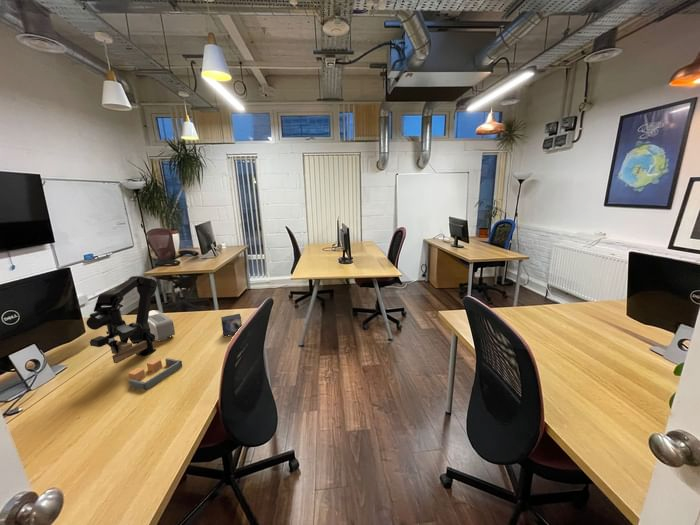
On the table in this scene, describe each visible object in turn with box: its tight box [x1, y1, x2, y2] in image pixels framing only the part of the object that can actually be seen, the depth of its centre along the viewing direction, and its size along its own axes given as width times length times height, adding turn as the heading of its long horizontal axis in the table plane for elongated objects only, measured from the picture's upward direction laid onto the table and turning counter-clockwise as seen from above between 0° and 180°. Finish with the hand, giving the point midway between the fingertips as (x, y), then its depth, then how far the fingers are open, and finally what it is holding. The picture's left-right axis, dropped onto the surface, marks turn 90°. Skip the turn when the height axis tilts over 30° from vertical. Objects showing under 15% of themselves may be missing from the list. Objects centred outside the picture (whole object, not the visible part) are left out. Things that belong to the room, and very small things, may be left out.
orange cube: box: [146, 358, 163, 373], centre depth 133 cm, size 4×4×4 cm
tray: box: [128, 357, 183, 391], centre depth 127 cm, size 9×18×3 cm, turn 162°
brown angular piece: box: [110, 340, 147, 365], centre depth 131 cm, size 11×14×5 cm
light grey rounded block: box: [148, 309, 176, 342], centre depth 168 cm, size 27×9×12 cm, turn 51°
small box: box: [220, 313, 243, 337], centre depth 166 cm, size 11×6×10 cm, turn 117°
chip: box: [127, 367, 146, 381], centre depth 126 cm, size 4×4×4 cm
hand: (121, 351), depth 132 cm, fingers closed on brown angular piece, 3 cm apart
